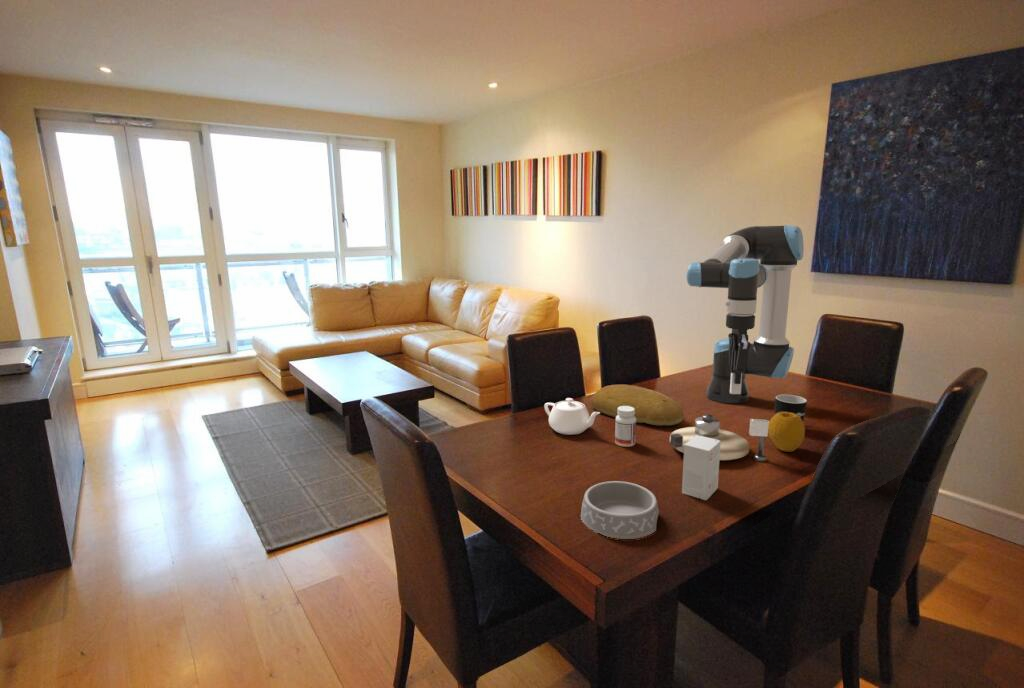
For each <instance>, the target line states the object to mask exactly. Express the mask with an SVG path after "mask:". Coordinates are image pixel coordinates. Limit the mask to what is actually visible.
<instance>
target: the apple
mask: <svg viewBox="0 0 1024 688" xmlns="http://www.w3.org/2000/svg"><path fill="white" fill-rule="evenodd" d="M768 421H769V425H768V437H769V439H770V440H771V441H772V442H773V444H774V446H775V448H777V449H779V450H780V451H782V452H785V453H787V452H788V453H789V452H790V453H792V452H794V451H795V450H797V449H798V448H799V447H800V445H802V443H803V441H804V439H805V435H806V434H805V433H806V432H805V431H806V426H805V424H804V420H803V421H802V420H801V418H800V417H799V416H798V415H796V414H794V413H790V412H779V413H777V414H775V413H774V415H772V417H771V418H770V419H769V420H768Z"/></svg>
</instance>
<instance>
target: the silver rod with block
mask: <svg viewBox="0 0 1024 688" xmlns="http://www.w3.org/2000/svg"><path fill="white" fill-rule="evenodd" d="M769 421H770V420H768V419H767V418H766V419H765V418H763V419H761V418H750V419H749V428H748V429H749V430H748V434H749V435H750V437H751V436H752V437H758V439H759V440H758V447H757V448H758V449H757V453H755V454H754V456H753V459H754V460H755V461H756V462H761V463H763V462H766V460H767V456H766V455H765V454H763V453H764V444H765V437H769V434H768V425H769Z"/></svg>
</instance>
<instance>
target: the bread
mask: <svg viewBox="0 0 1024 688" xmlns="http://www.w3.org/2000/svg"><path fill="white" fill-rule="evenodd" d="M590 403H591V406H592V408H594V410H596V412H600V413H603V414H605V415H607V416H610V417H613V418H616V416H617V415H618V414H617V410H618V407H620V406H630V407H633V408H634V409H635V415H634V416H635V418H636V424H637V423H638V424H639V423H640V424H642V423H645V424H648V425H652V426H662V427H663V426H675V425H677V424H680V423H681V422H682V420H683V419H684V415H685V414H684V410H683V408H682V407H681V405H680V404H678V402H677V401H675V400H674V399H673V398H671V397H670V396H667V395H666V394H664V393H661V392H659V391H656V390H653V389H648V388H646V387H642V386H639V385H638V386H637V385H633V384H632V385H630V384H611V385H606V386H604V387H601V388H599V389H598V390H596V392H594V394H593V395H592V396H591V398H590Z"/></svg>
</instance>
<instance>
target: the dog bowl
mask: <svg viewBox="0 0 1024 688" xmlns="http://www.w3.org/2000/svg"><path fill="white" fill-rule="evenodd" d="M580 511H581V512H580V517H581V519H580V521H581V520H582V521H581V522H583V523H584V524H585V525H586V526H587V527H588V528H587V527H586V526H585V525H584V524H583V523H582V524H583V525H584V526H585V527H586V528H587V529H588V530H590V529H591V530H593V531H594V532H593V531H592V532H593V533H595V532H596V533H595V534H597V533H600V534H602V535H604V536H607V537H606V538H608V537H611V538H610V539H612V538H617V539H616V540H618V539H619V538H620V539H635V538H640V537H644V536H647V535H650V534H652V533H653V532H655V531H656V532H657V523H658V517H659V516H660V509H659V506H658V501H657V498H656V496H655V494H654V493H653V492H652V491H651V490H649V489H648V488H646V487H644V486H641V485H639V484H636V483H633V482H629V481H620V480H613V481H612V480H611V481H610V480H609V481H604V482H599V483H596V484H594V485H592V486H590V487H589V488H588V489H586V491H585V493H584V495H583V499H582V503H581V509H580ZM591 530H590V531H591ZM656 532H655V533H656ZM652 535H653V534H652ZM604 536H603V537H604ZM650 536H651V535H650Z"/></svg>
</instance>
